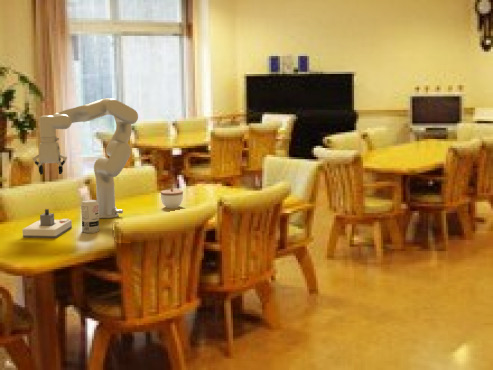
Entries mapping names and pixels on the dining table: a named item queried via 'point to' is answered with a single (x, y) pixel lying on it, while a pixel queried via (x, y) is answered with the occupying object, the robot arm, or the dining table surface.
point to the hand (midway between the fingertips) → (51, 174)
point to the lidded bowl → (172, 198)
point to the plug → (47, 218)
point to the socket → (47, 229)
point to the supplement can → (90, 216)
